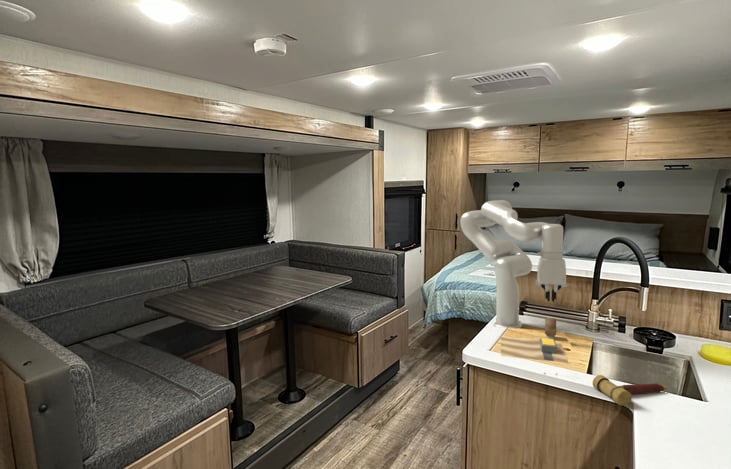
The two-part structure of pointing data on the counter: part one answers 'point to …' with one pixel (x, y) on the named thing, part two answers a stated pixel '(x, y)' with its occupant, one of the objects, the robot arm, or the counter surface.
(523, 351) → the subfloor board
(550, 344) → the stud finder
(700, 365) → the counter surface
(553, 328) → the brown grey cylinder
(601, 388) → the gavel
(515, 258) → the robot arm
